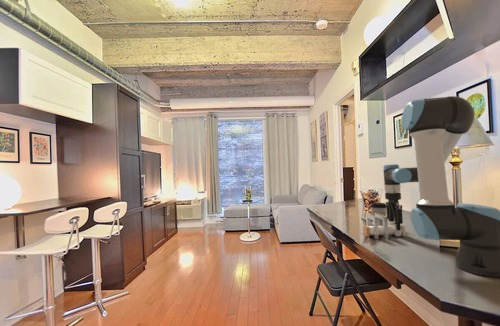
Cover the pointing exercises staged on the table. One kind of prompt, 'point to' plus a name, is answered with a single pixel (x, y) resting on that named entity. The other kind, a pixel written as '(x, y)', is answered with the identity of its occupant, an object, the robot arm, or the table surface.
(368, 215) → the collar
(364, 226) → the tube
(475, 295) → the table surface
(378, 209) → the coffee cup
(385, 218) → the collar
